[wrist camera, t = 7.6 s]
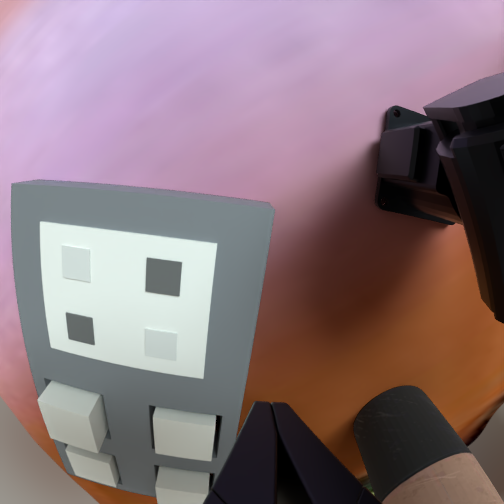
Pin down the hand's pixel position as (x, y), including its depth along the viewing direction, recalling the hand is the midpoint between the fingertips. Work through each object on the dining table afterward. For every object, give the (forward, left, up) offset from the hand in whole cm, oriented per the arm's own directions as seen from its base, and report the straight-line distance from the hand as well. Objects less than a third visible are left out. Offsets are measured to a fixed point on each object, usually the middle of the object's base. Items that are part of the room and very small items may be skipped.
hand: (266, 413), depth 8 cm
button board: (+7, +9, -12) cm, 16 cm away
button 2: (+11, +18, -11) cm, 24 cm away
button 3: (+3, +11, -11) cm, 16 cm away
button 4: (+3, +18, -10) cm, 21 cm away
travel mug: (-14, +12, -12) cm, 22 cm away
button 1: (+11, +11, -10) cm, 19 cm away
